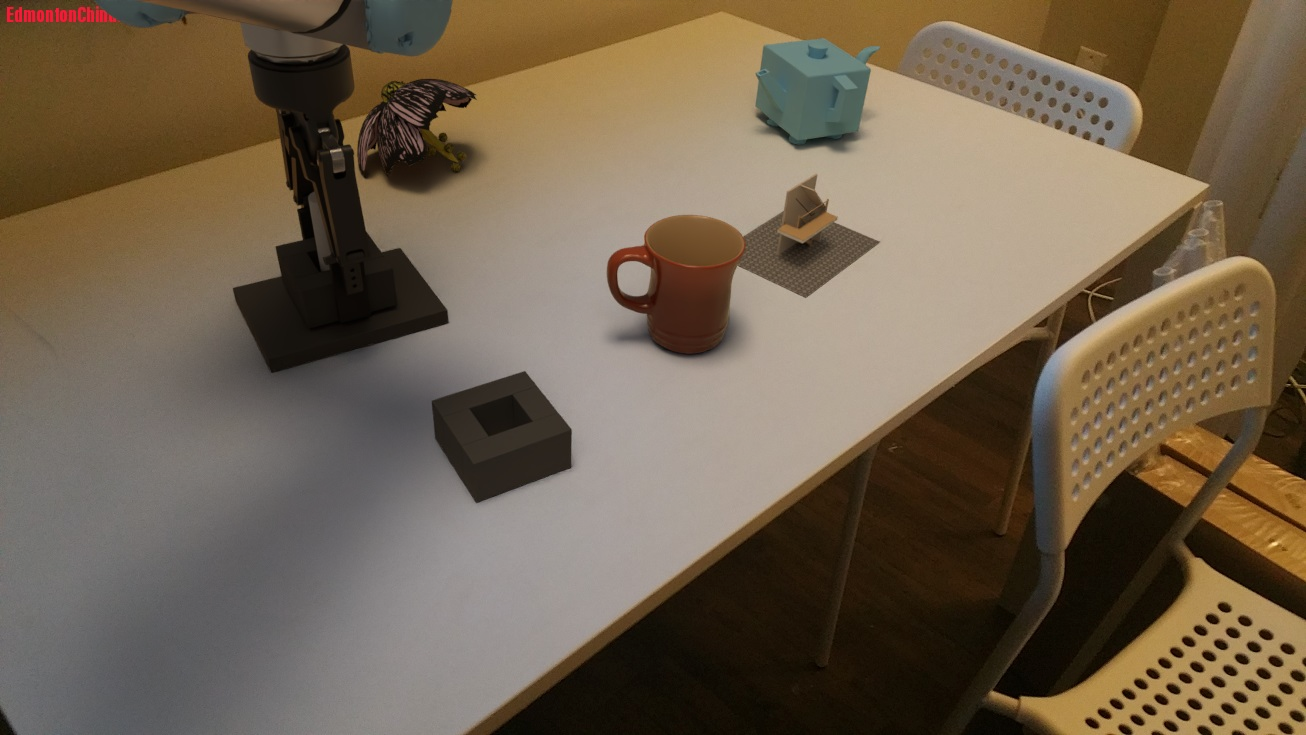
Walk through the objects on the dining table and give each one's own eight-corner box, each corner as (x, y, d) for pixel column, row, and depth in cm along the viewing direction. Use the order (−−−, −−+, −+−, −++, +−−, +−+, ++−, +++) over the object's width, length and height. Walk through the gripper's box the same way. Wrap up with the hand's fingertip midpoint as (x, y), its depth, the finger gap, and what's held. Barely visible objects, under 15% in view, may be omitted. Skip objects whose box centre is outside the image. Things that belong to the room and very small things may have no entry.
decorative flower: (399, 49, 116) (480, 47, 106) (445, 134, 123) (525, 140, 113) (308, 118, 109) (386, 122, 99) (362, 203, 116) (440, 216, 107)
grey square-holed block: (476, 503, 73) (473, 464, 71) (434, 438, 78) (431, 400, 76) (571, 467, 77) (572, 429, 74) (526, 408, 82) (525, 370, 79)
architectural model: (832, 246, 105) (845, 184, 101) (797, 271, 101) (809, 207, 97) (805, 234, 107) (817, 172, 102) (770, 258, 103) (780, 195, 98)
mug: (718, 305, 95) (730, 211, 89) (743, 360, 89) (758, 263, 82) (596, 313, 93) (599, 218, 87) (612, 371, 86) (617, 272, 80)
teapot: (720, 113, 131) (729, 28, 124) (833, 97, 137) (848, 16, 130) (781, 165, 120) (795, 75, 113) (901, 145, 126) (921, 59, 119)
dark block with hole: (309, 329, 85) (301, 291, 83) (282, 283, 90) (275, 246, 88) (397, 305, 89) (393, 267, 86) (367, 262, 94) (362, 225, 92)
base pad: (271, 373, 83) (243, 252, 76) (235, 301, 91) (207, 184, 84) (448, 323, 90) (439, 207, 83) (401, 260, 98) (389, 149, 91)
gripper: (393, 88, 70) (421, 342, 84) (306, -3, 84) (342, 229, 98) (287, 106, 67) (334, 367, 81) (214, 8, 80) (265, 247, 95)
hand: (338, 292), depth 89 cm, fingers closed on dark block with hole, 8 cm apart
